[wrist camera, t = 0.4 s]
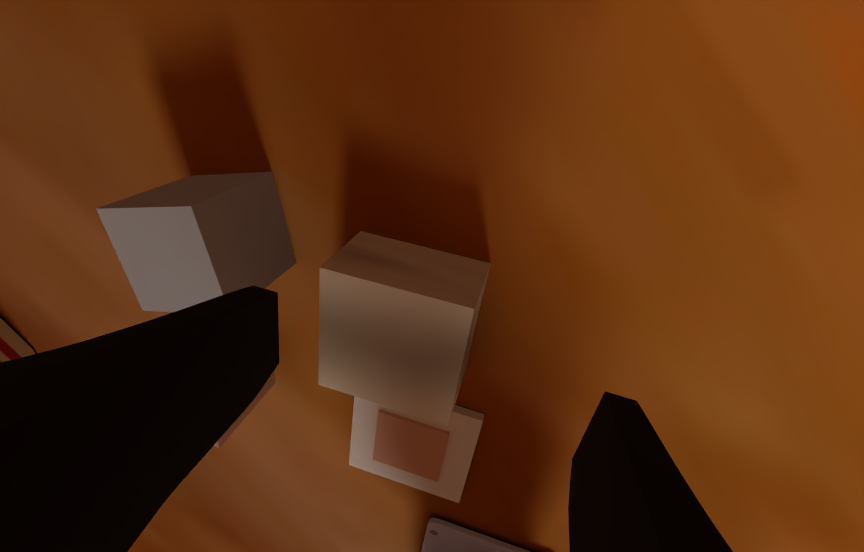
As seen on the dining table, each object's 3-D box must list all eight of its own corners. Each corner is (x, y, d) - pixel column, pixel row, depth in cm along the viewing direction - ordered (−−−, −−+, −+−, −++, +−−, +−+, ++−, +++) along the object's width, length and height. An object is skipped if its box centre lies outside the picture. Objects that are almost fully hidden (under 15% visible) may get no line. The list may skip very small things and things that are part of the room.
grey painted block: (297, 262, 22) (230, 315, 17) (222, 261, 23) (142, 310, 19) (272, 171, 20) (191, 206, 15) (192, 175, 21) (95, 208, 17)
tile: (460, 496, 26) (458, 506, 26) (352, 458, 27) (347, 467, 27) (484, 414, 23) (482, 424, 22) (359, 374, 24) (354, 383, 23)
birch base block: (467, 366, 22) (448, 425, 19) (355, 334, 23) (318, 384, 20) (491, 261, 19) (474, 309, 16) (362, 229, 20) (319, 267, 17)
